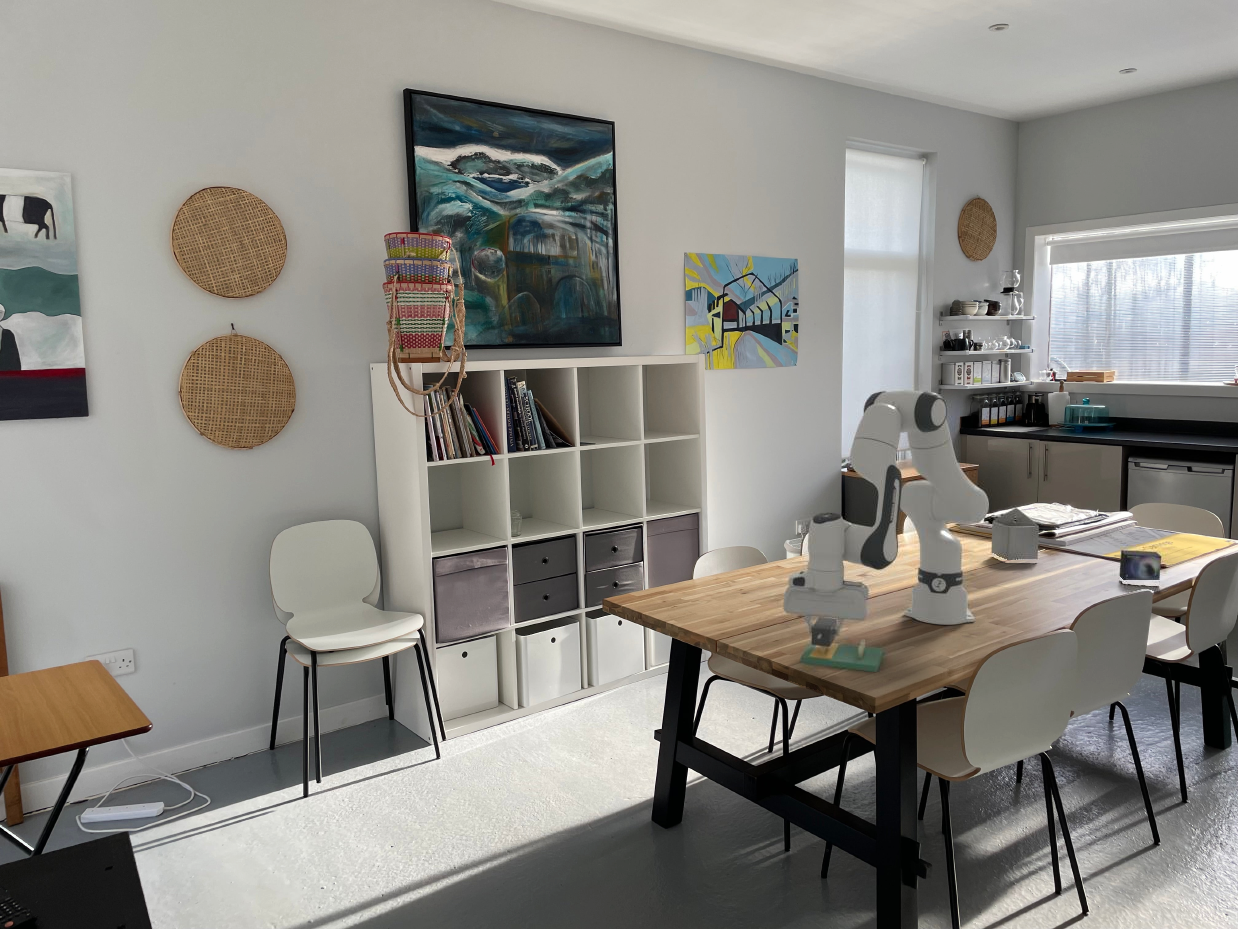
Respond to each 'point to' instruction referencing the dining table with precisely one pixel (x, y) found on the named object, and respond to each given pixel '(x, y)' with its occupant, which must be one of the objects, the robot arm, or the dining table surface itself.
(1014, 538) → the planter
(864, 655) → the board
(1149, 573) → the small box
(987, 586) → the dining table surface
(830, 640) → the block
